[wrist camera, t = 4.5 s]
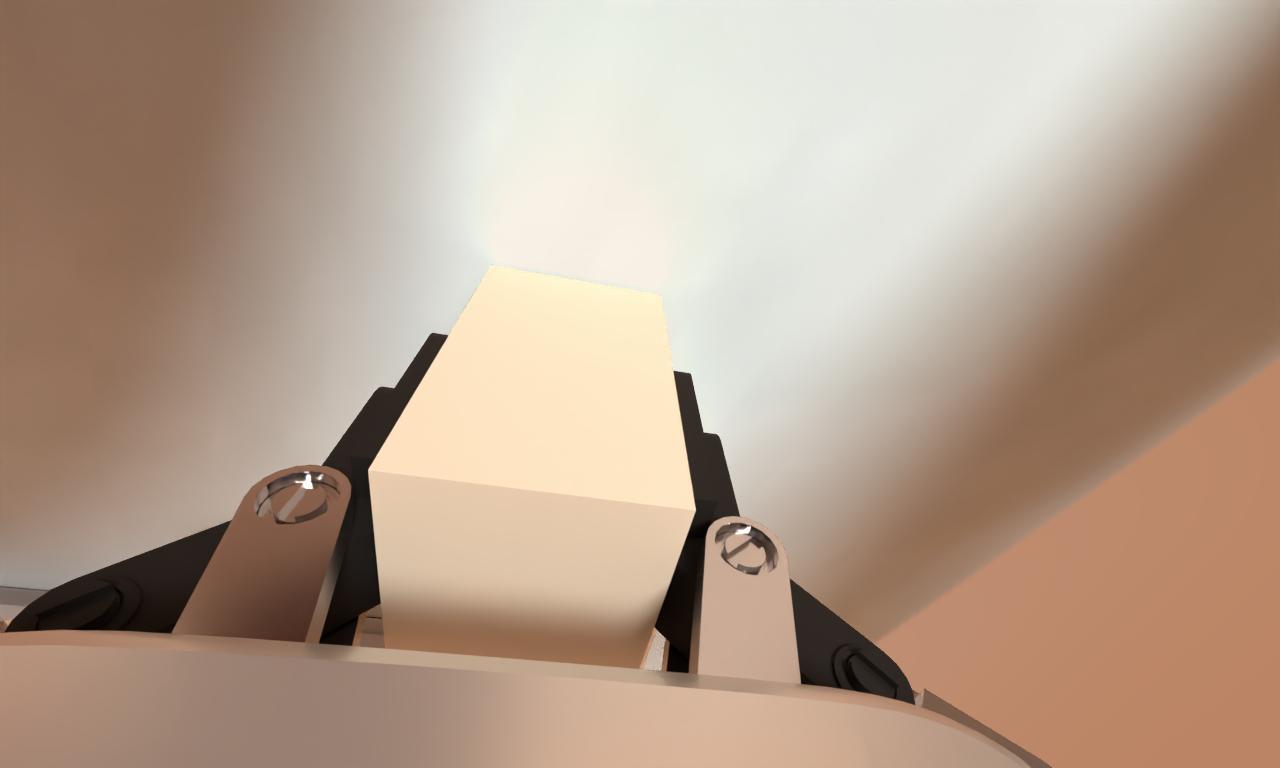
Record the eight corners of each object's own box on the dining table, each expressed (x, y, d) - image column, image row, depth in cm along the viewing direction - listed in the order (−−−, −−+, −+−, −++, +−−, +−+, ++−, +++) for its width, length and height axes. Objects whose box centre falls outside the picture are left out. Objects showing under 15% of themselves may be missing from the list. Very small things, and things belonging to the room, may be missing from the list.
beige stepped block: (740, 308, 13) (841, 527, 7) (640, 616, 19) (648, 863, 14) (400, 248, 12) (182, 446, 6) (414, 594, 18) (317, 853, 12)
